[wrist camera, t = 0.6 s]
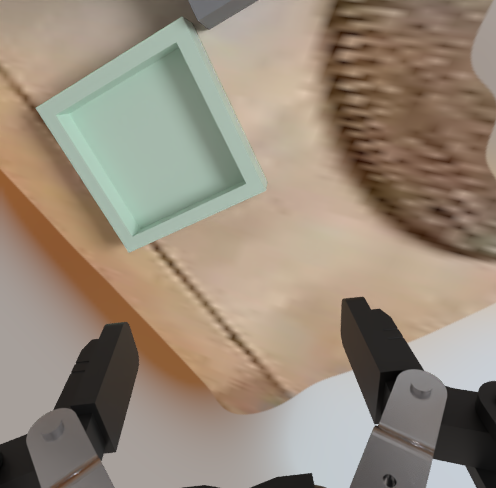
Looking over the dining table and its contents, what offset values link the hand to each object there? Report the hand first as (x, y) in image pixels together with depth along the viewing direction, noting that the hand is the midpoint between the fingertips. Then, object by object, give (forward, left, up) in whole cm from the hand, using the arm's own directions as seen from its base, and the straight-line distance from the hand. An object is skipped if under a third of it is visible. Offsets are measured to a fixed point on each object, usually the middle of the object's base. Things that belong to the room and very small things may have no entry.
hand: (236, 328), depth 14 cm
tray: (-7, -7, -21) cm, 24 cm away
